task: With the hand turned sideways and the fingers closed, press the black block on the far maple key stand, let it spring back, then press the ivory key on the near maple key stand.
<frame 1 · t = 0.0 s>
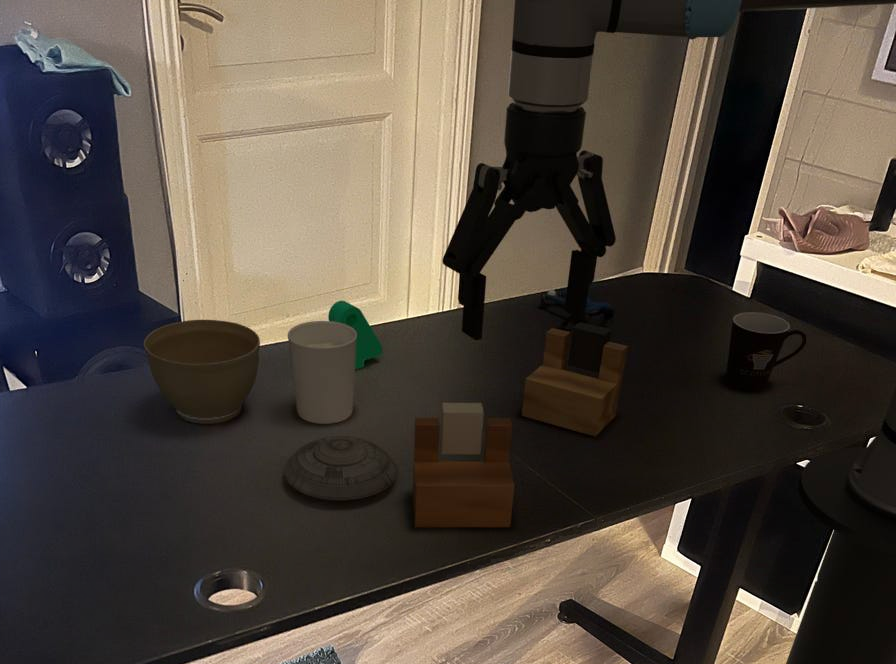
hand: (524, 324, 105), 26 cm above the table, tool pointing down, fingers open, 13 cm apart
near stand: (460, 510, 125), on the table
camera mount: (339, 363, 159), on the table
coffee mug: (754, 385, 157), on the table
person figurine: (577, 321, 176), on the table
flying saucer: (341, 481, 130), on the table
planter bowl: (210, 412, 144), on the table
black block: (589, 347, 144), point 9 cm above the table, slide at 0.1 cm
white tumbler cup: (324, 412, 145), on the table
ivory key: (461, 428, 122), point 9 cm above the table, slide at 0.1 cm
far stand: (568, 416, 146), on the table
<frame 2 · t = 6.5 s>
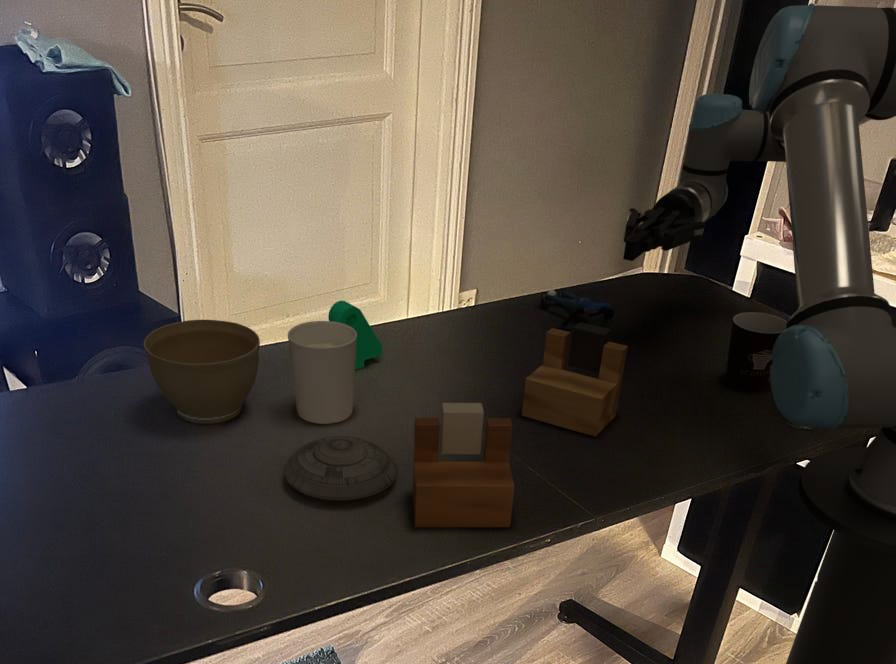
hand: (629, 250, 144), 20 cm above the table, tool horizontal, fingers closed
nothing on the table moved.
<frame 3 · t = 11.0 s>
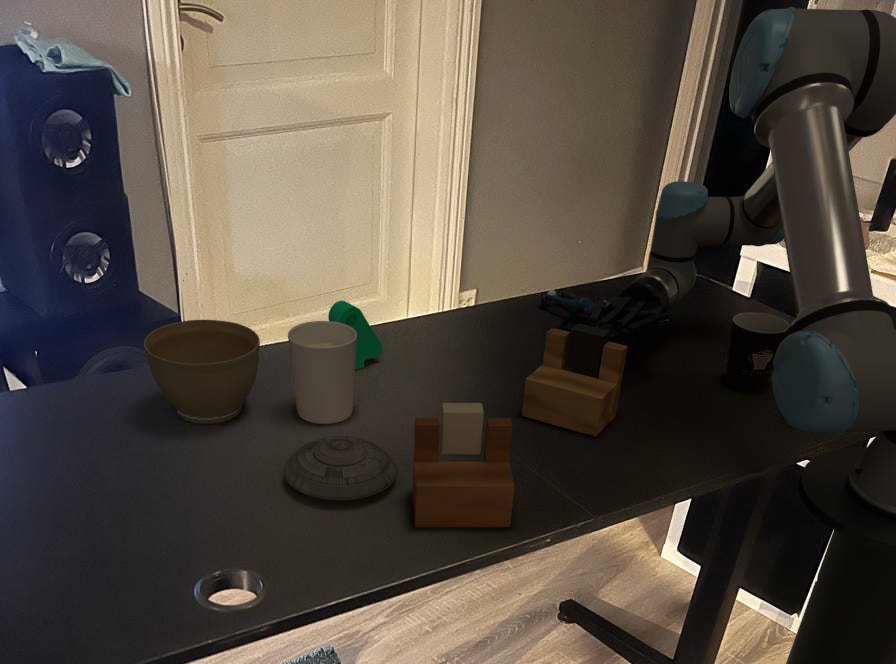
hand: (591, 346, 144), 9 cm above the table, tool horizontal, fingers closed
black block: (587, 348, 143), point 9 cm above the table, slide at -0.5 cm, touching gripper
everything else where it was.
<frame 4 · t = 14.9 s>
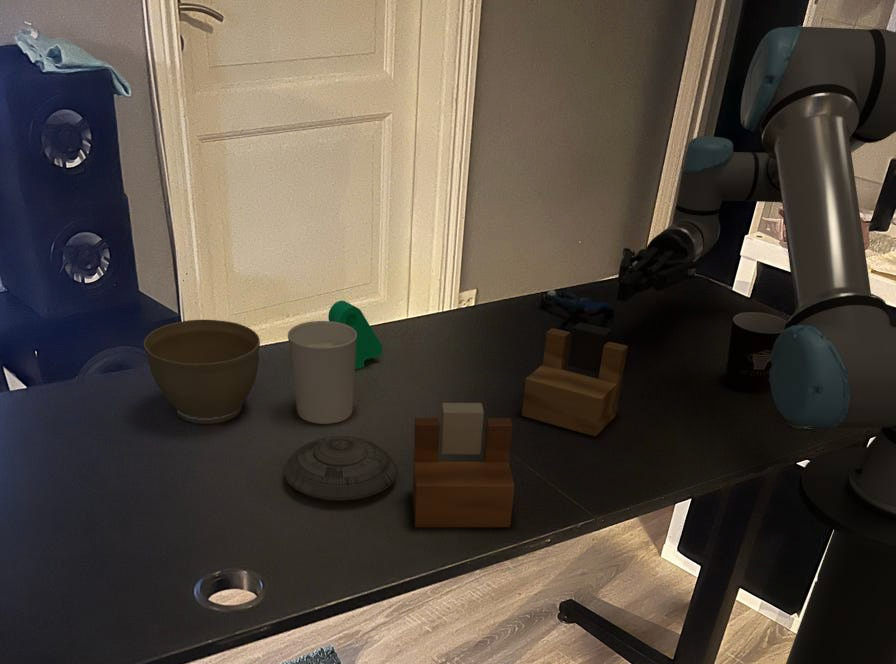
hand: (623, 291, 148), 14 cm above the table, tool horizontal, fingers closed
black block: (589, 347, 144), point 9 cm above the table, slide at 0.1 cm
everything else where it was.
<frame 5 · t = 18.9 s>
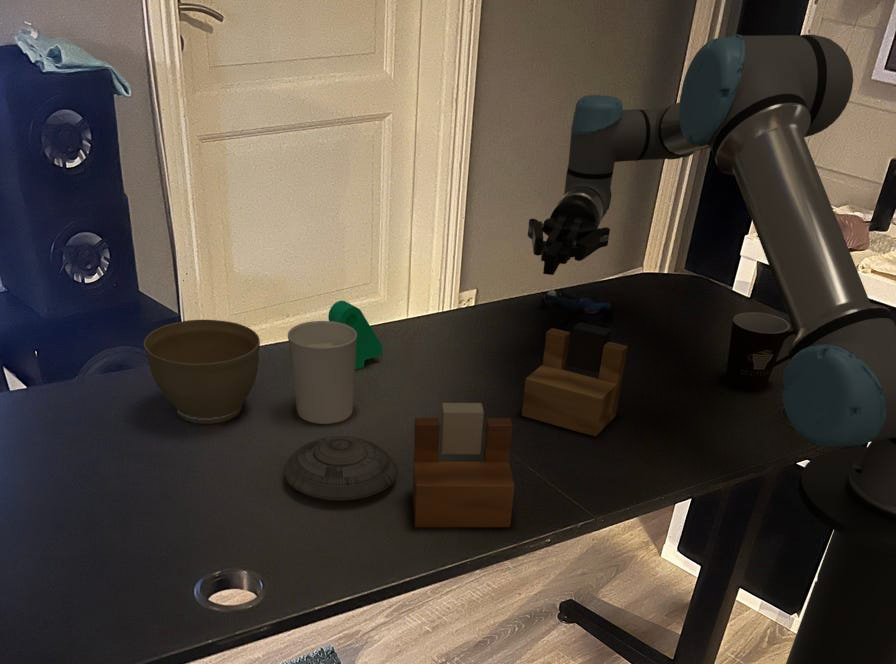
hand: (549, 264, 138), 20 cm above the table, tool horizontal, fingers closed
nothing on the table moved.
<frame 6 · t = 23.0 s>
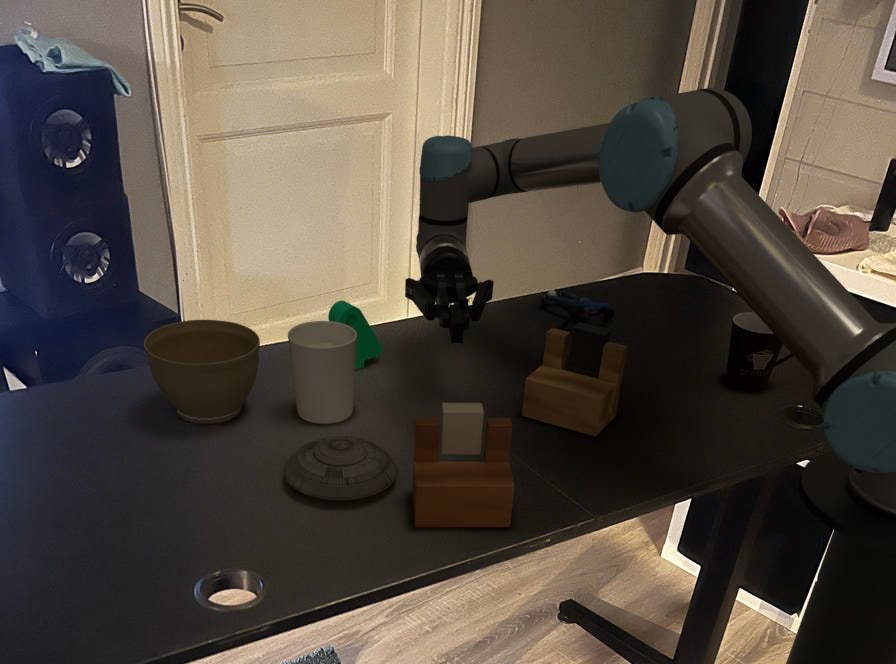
hand: (457, 333, 126), 17 cm above the table, tool horizontal, fingers closed
nothing on the table moved.
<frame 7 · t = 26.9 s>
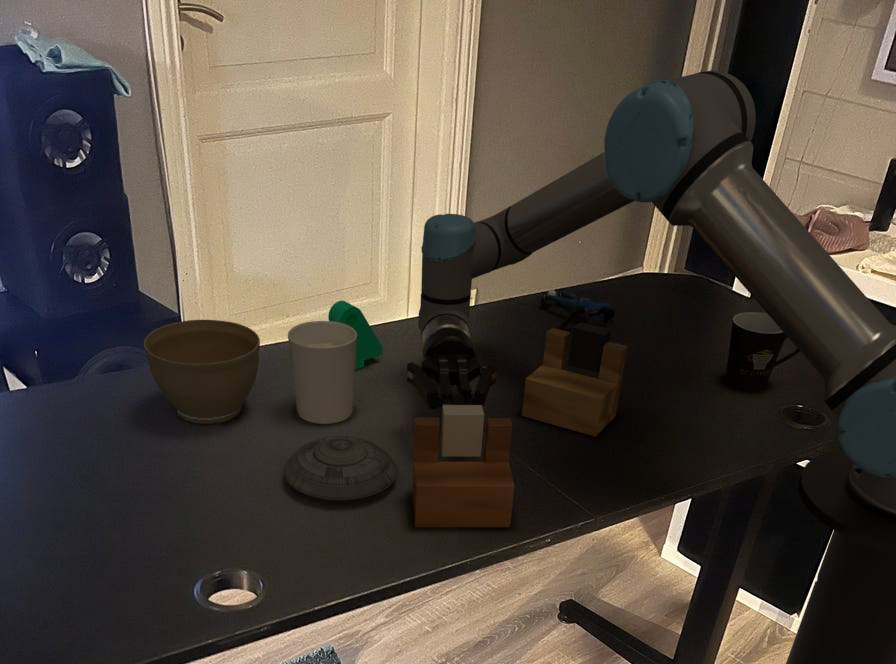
hand: (460, 426, 123), 9 cm above the table, tool horizontal, fingers closed
ivory key: (461, 430, 122), point 9 cm above the table, slide at -0.5 cm, touching gripper
everything else where it was.
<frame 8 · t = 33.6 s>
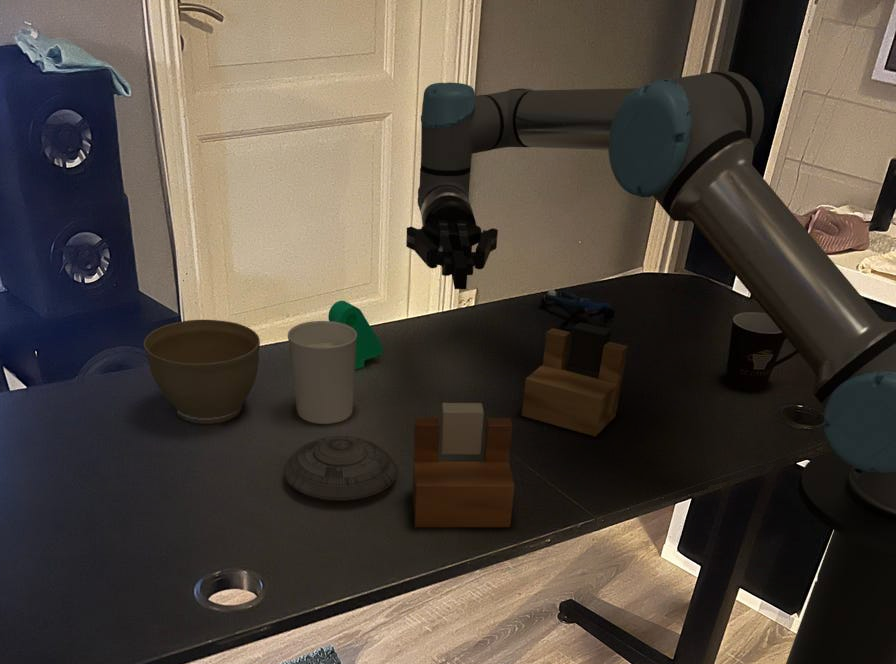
hand: (461, 278, 122), 24 cm above the table, tool horizontal, fingers closed
ivory key: (461, 428, 122), point 9 cm above the table, slide at 0.1 cm
everything else where it was.
at the end: black block pushed in 1.8 cm at the most during the clip, back to where it started at the end; ivory key pushed in 1.8 cm at the most during the clip, back to where it started at the end; ivory key slide at 0.1 cm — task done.
